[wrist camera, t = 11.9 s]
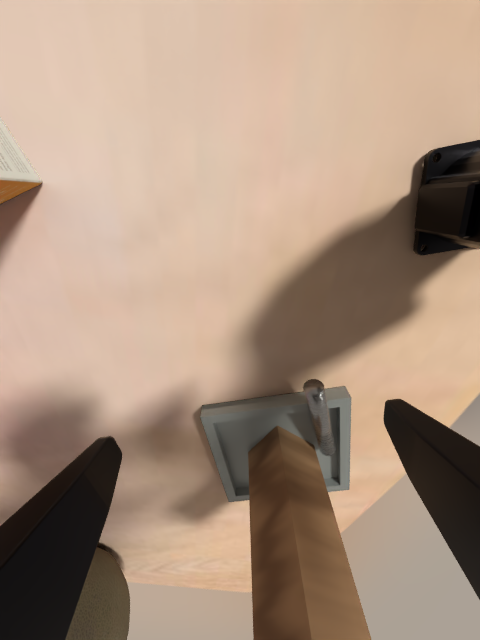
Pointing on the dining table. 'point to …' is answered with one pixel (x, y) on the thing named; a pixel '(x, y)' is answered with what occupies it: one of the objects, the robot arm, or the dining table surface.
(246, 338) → the dining table surface
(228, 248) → the dining table surface
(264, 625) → the walnut block
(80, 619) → the cantaloupe
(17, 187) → the small box
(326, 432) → the rod
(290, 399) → the tray
